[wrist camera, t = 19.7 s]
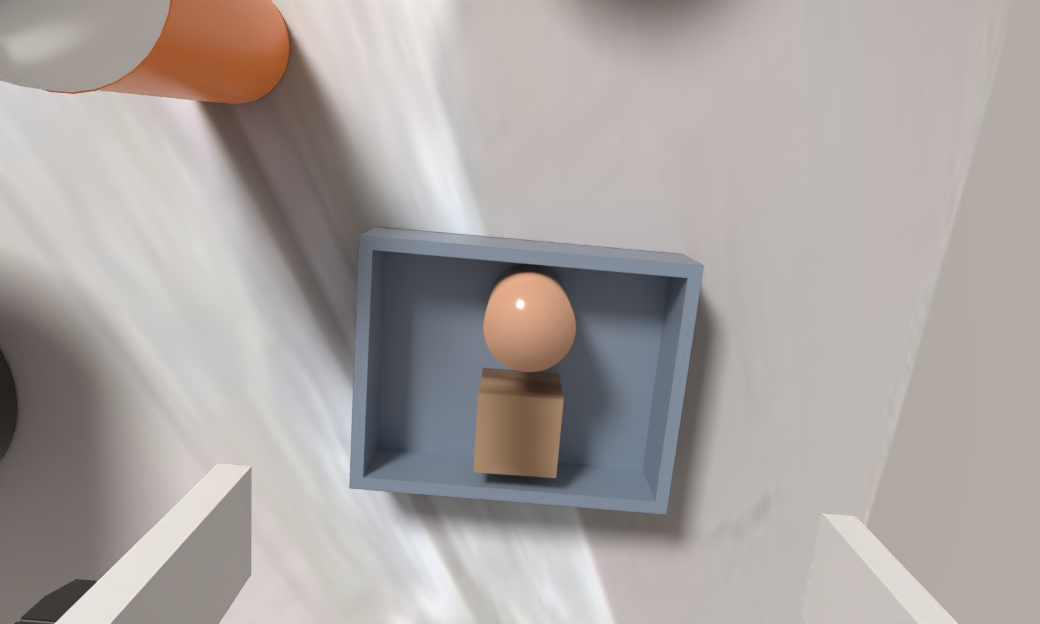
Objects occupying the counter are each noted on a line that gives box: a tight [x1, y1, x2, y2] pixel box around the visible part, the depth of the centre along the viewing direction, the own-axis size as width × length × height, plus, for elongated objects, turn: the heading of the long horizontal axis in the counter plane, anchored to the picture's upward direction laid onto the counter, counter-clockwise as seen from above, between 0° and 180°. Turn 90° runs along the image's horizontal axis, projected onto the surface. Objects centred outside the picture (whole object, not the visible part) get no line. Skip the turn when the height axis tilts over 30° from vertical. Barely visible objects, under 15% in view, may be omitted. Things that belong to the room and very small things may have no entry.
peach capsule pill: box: [483, 264, 576, 372], centre depth 39 cm, size 5×5×7 cm
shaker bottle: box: [0, 0, 289, 104], centre depth 30 cm, size 9×9×20 cm
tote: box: [349, 227, 704, 514], centre depth 42 cm, size 20×16×5 cm
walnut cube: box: [473, 368, 564, 478], centre depth 42 cm, size 5×5×5 cm
